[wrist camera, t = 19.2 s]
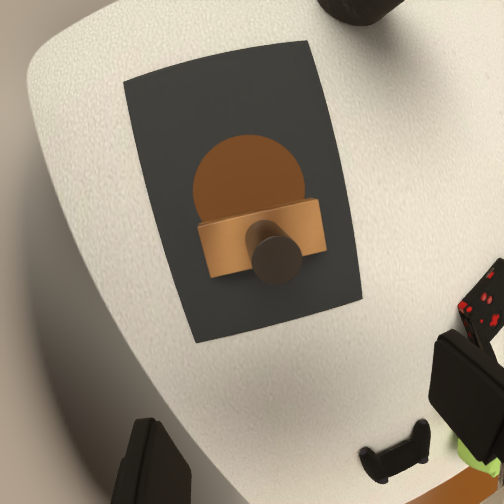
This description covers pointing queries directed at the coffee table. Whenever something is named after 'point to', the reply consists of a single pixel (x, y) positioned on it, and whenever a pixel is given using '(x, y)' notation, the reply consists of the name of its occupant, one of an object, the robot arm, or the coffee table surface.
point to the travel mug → (359, 10)
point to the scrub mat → (243, 178)
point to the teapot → (469, 459)
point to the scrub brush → (264, 240)
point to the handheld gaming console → (485, 308)
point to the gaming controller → (398, 455)
